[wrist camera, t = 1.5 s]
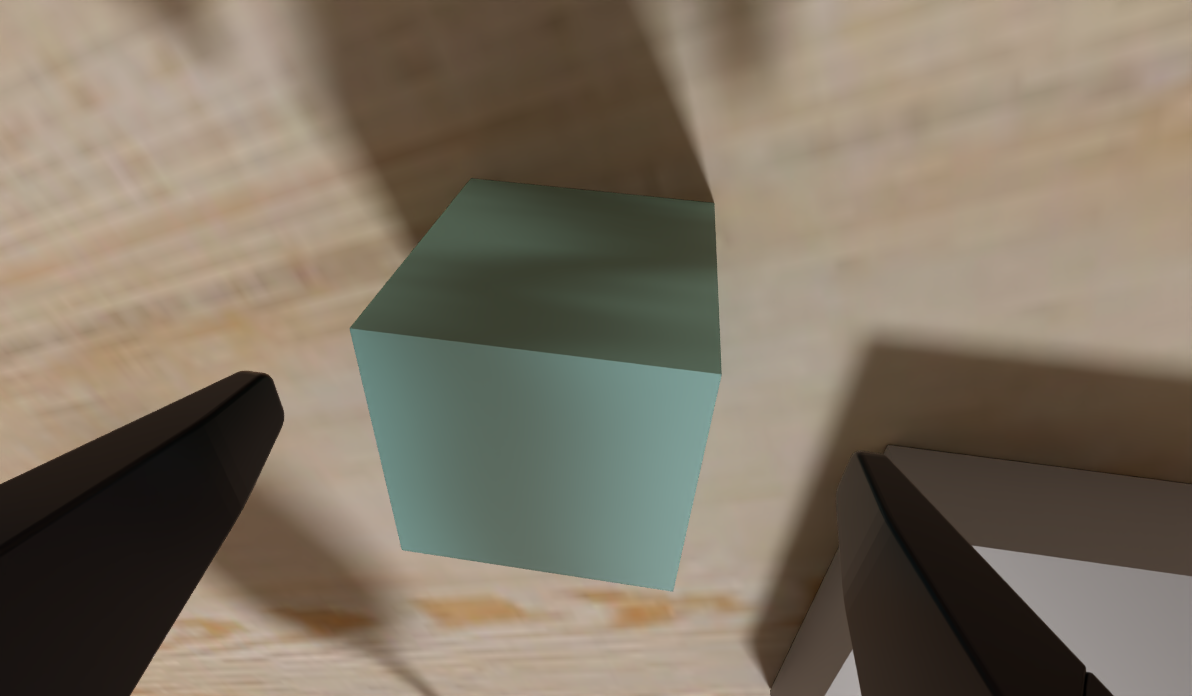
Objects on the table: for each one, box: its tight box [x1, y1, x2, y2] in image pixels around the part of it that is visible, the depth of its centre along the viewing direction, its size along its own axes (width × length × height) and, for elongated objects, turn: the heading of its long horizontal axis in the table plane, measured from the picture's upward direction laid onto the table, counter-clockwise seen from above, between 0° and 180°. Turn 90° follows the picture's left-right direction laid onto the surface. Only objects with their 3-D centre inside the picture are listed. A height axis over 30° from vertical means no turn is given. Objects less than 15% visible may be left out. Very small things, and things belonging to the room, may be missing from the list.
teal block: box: [350, 178, 722, 591], centre depth 11 cm, size 4×4×5 cm
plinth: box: [770, 445, 1192, 696], centre depth 16 cm, size 12×12×2 cm
